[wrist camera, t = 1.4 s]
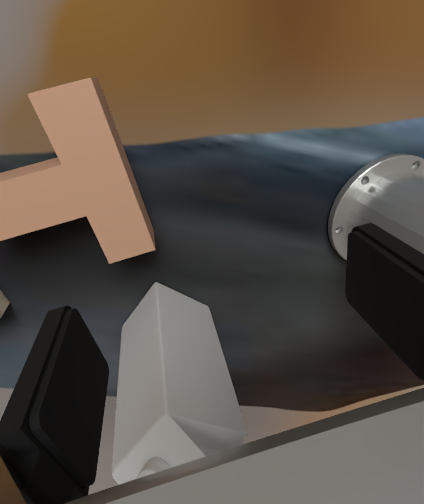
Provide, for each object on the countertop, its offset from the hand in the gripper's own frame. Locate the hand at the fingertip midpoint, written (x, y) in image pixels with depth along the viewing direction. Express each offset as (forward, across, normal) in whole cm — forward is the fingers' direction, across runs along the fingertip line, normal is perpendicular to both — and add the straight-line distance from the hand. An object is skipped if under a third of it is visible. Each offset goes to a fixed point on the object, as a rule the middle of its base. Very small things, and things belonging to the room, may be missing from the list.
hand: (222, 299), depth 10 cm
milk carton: (+19, +5, +16) cm, 25 cm away
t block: (+19, +10, -1) cm, 21 cm away
